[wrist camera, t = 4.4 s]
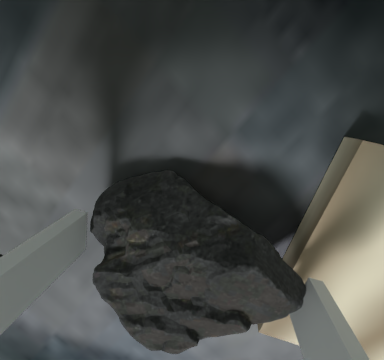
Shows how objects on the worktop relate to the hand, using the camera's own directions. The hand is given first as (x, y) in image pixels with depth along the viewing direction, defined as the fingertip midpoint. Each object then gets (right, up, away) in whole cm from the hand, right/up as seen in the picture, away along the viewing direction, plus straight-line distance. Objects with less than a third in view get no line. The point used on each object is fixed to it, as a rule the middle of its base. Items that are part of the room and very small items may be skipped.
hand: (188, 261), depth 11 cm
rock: (0, +1, +3) cm, 3 cm away
